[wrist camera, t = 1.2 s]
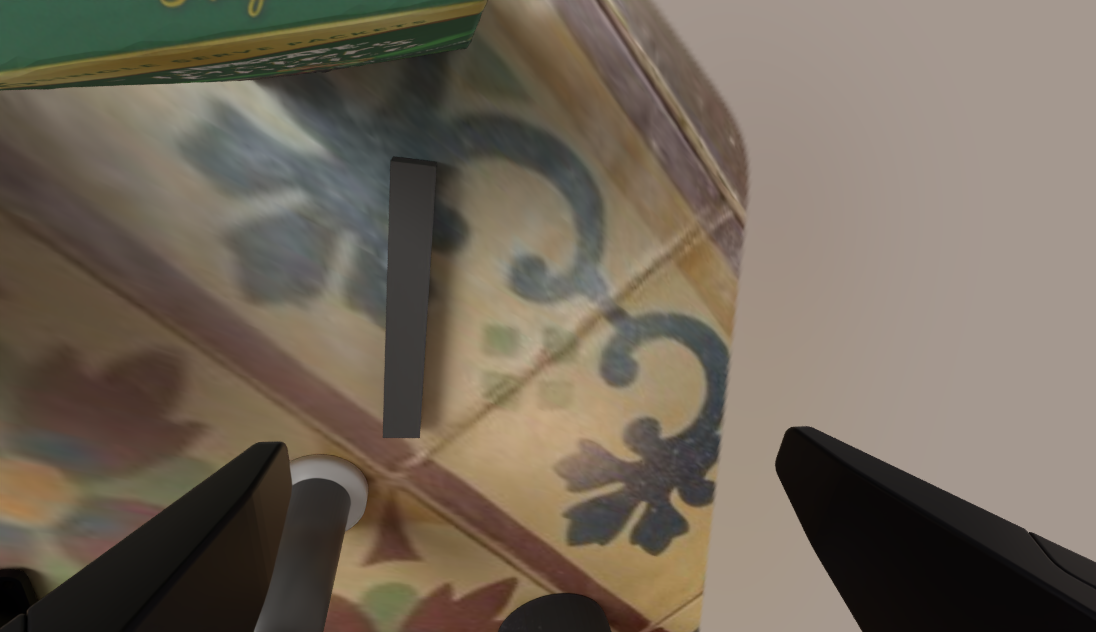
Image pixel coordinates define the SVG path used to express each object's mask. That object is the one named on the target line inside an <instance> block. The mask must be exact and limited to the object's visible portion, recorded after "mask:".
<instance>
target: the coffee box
mask: <svg viewBox="0 0 1096 632" xmlns="http://www.w3.org/2000/svg"><path fill="white" fill-rule="evenodd" d="M487 1H488V0H0V90H26V89H56V88H66V87H93V86H116V85H144V84H174V83H191V82H218V81H220V82H224V81H243V80H256V79H262V78H270V77H279V76H288V75H298V74H304V73H312V72H314V73H316V72H328V71H331V70H333V69H342V68H348V67H352V66H362V65H366V64H371V63H378V62H384V61H391V60H397V59H403V58H409V57H417V56H422V55H427V54H433V53H440V52H445V51H452V50H458V49H466V48H467V47H468V45H469V43H470V42H471V40H472V37H473V35H474V32H475V30H476V27H477V25H478V22H479V20H480V17H481V14H482V12H483V10H484V7H485V5H486V3H487Z"/></svg>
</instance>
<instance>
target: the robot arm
mask: <svg viewBox="0 0 1096 632" xmlns="http://www.w3.org/2000/svg"><path fill="white" fill-rule="evenodd" d="M775 467H776V472H777V475H778V477H779V479H780V481H781V483H782V485H783V487H784V490H785V492H786V494H787V496H788V498H789V500H790V502H791V504H792V506H793V508H794V510H795V512H796V515H797V517H798V519H799V521H800V523H801V525H802V527H803V529H804V531H805V534H806V536H807V537H808V540H809V541H810V543H811V545H812V547H813V549H814V551H815V553H816V554H817V556H818V558H819V560H820V561H821V563H822V565H823V566H824V568H825V570H826V571H827V573H828V575H829V576H830V578H831V580H832V581H833V583H834V585H835V586H836V588H837V590H838V592H839V593H840V595H841V597H842V598H843V600H844V602H845V603H846V605H847V607H848V608H849V610H850V612H851V613H852V615H853V617H854V619H855V620H856V622H857V623H858V625H859V627H860V629H861V630H862V632H1096V562H1094V561H1092V560H1090V559H1088V558H1086V557H1083V556H1081V555H1079V554H1077V553H1075V552H1073V551H1070V550H1068V549H1066V548H1064V547H1062V546H1060V545H1057V544H1056V543H1053V542H1051V541H1049V540H1047V539H1045V538H1043V537H1041V536H1039V535H1037V534H1035V533H1032V532H1029V533H1028V532H1027V531H1026V530H1025V529H1024V528H1022V527H1020V526H1018V525H1016V524H1013V523H1011V522H1009V521H1007V520H1005V519H1003V518H1001V517H999V516H997V515H995V514H993V513H990V512H988V511H986V510H984V509H982V508H980V507H978V506H976V505H974V504H971V503H969V502H967V501H965V500H963V499H961V498H959V497H957V496H955V495H953V494H950V493H949V492H946V491H944V490H942V489H940V488H938V487H936V486H934V485H932V484H930V483H927V482H926V481H923V480H921V479H919V478H917V477H915V476H913V475H911V474H909V473H907V472H905V471H903V470H900V469H898V468H896V467H894V466H892V465H890V464H888V463H886V462H884V461H881V460H880V459H877V458H875V457H873V456H871V455H869V454H867V453H865V452H863V451H861V450H859V449H856V448H854V447H852V446H850V445H848V444H846V443H844V442H842V441H840V440H838V439H836V438H833V437H831V436H829V435H827V434H825V433H823V432H821V431H819V430H817V429H815V428H812V427H808V426H802V427H791V428H789V429H788V430H787V431H786V432H785V434H784V438H783V440H782V443H781V446H780V449H779V452H778V455H777V457H776V461H775ZM291 493H292V478H291V471H290V463H289V456H288V449H287V446H286V444H285V443H283V442H258V443H256V444H254V445H252V446H251V447H250V448H248V449H247V450H245V451H244V452H243V453H241V454H240V455H239V456H237V457H236V458H234V459H233V460H232V461H230V462H229V463H228V464H226V465H225V466H223V467H222V468H221V469H219V470H218V471H217V472H215V473H214V474H212V475H211V476H210V477H208V478H207V479H206V480H204V481H203V482H201V483H200V484H199V485H197V486H196V487H195V488H193V489H192V490H190V491H189V492H188V493H186V494H185V495H184V496H182V497H181V498H179V499H178V500H177V501H175V502H174V503H173V504H171V505H170V506H168V507H167V508H166V509H164V510H163V511H162V512H160V513H159V514H157V515H156V516H155V517H153V518H152V519H151V520H149V521H148V522H146V523H145V524H144V525H142V526H141V527H140V528H138V529H137V530H135V531H134V532H133V533H131V534H130V535H129V536H127V537H126V538H124V539H123V540H122V541H120V542H119V543H118V544H116V545H115V546H113V547H112V548H111V549H109V550H108V551H107V552H105V553H104V554H102V555H101V556H100V557H98V558H97V559H96V560H94V561H93V562H91V563H90V564H89V565H87V566H86V567H85V568H83V569H82V570H80V571H79V572H78V573H76V574H75V575H74V576H72V577H71V578H69V579H68V580H67V581H65V582H64V583H63V584H61V585H60V586H58V587H57V588H56V589H54V590H53V591H52V592H50V593H49V594H47V595H46V596H45V597H43V598H42V599H41V600H39V601H37V598H36V596H35V593H34V591H33V588H32V585H31V583H30V580H29V578H28V576H27V574H26V573H24V572H23V571H20V570H15V569H9V570H0V632H254V630H255V627H256V624H257V622H258V619H259V616H260V613H261V610H262V608H263V605H264V602H265V599H266V596H267V593H268V590H269V586H270V582H271V579H272V575H273V571H274V566H275V562H276V558H277V554H278V549H279V545H280V541H281V537H282V532H283V528H284V524H285V520H286V515H287V511H288V507H289V503H290V498H291Z"/></svg>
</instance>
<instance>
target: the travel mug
mask: <svg viewBox="0 0 1096 632" xmlns="http://www.w3.org/2000/svg"><path fill="white" fill-rule="evenodd" d="M498 632H611V629H610V626H609V623H608V621H607V618H606V616H605V613H604V611H603V610H602V609H601V607H600V606H599V605H598V604H597V603H596V602H595V601H593V600H592V599H589V598H587V597H585V596H581V595H577V594H567V593H566V594H553V595H548V596H544V597H540V598H537V599H535V600H532V601H530V602H528V603H526V604H524V605H522V606H521V607H519V608H517V609H516V610H515V611H514V612H512V613H511V614H510V615H509V616H508V617H507V618H506V619H505V621H504V622H503V623H502V625H501V627H500V629H499V631H498Z"/></svg>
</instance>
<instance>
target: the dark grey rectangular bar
mask: <svg viewBox="0 0 1096 632" xmlns="http://www.w3.org/2000/svg"><path fill="white" fill-rule="evenodd" d="M436 167H437V162H434V161H426V160H418V159H410V158H402V157H394V156H393V158H392V160H391V164H390V200H389V235H388V270H387V306H386V341H385V377H384V412H383V438H420V426H421V410H422V394H423V377H424V361H425V345H426V329H427V313H428V297H429V280H430V264H431V248H432V232H433V216H434V200H435V184H436Z"/></svg>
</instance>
